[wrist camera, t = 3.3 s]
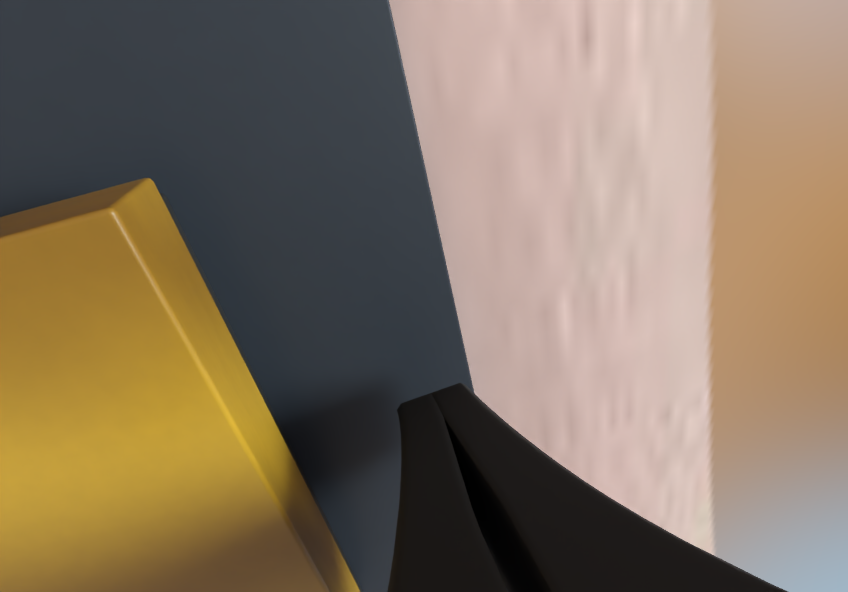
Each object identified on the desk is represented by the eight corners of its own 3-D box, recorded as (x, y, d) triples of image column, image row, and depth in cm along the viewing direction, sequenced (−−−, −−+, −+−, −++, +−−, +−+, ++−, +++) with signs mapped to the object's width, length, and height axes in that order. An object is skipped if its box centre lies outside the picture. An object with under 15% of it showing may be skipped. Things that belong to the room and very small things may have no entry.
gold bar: (378, 595, 13) (400, 719, 10) (217, 661, 12) (200, 808, 10) (172, 159, 7) (111, 206, 5) (-147, 245, 7) (-403, 348, 4)
